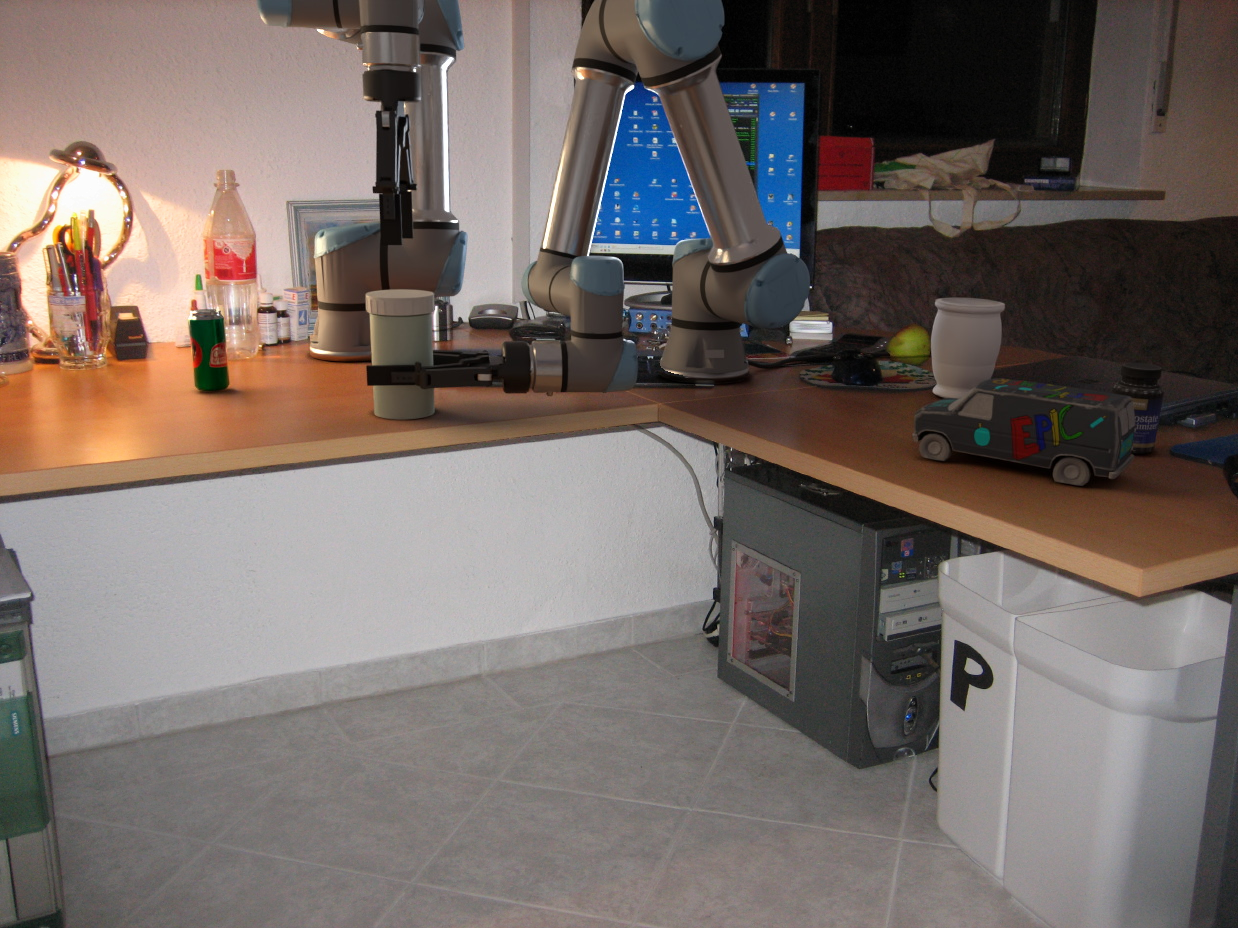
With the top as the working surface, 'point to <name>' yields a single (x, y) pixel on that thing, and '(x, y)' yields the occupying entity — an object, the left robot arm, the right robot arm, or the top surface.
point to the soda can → (209, 350)
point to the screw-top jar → (402, 363)
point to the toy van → (1033, 428)
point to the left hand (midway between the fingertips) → (397, 241)
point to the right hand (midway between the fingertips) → (369, 369)
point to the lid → (400, 302)
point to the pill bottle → (1142, 401)
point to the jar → (964, 343)
